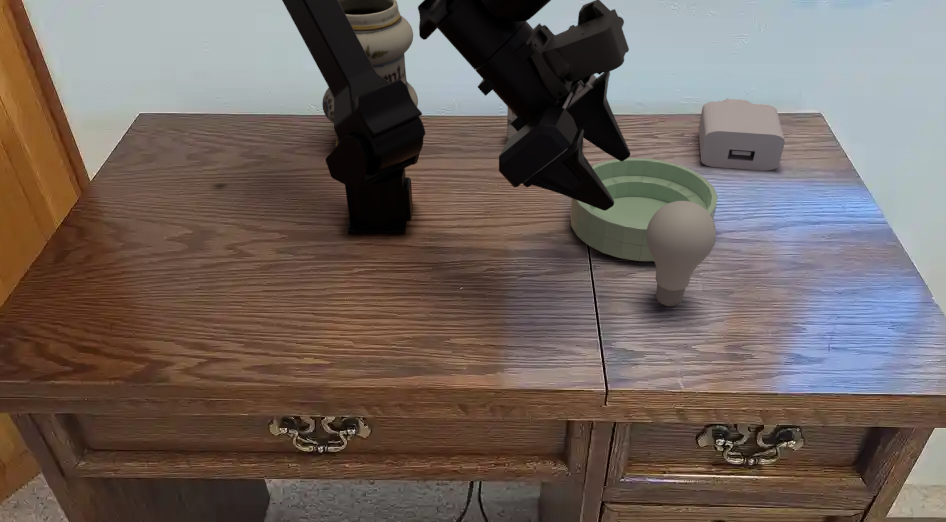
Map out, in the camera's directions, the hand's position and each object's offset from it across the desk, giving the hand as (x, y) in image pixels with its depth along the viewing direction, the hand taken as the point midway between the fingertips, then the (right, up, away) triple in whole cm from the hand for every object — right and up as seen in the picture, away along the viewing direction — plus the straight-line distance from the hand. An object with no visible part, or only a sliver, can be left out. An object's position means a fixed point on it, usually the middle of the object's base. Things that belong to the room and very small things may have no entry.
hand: (618, 181), depth 71 cm
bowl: (+6, -2, +17) cm, 18 cm away
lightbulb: (+6, -11, +7) cm, 14 cm away
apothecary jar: (-26, +12, +34) cm, 44 cm away
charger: (+21, +12, +33) cm, 41 cm away
